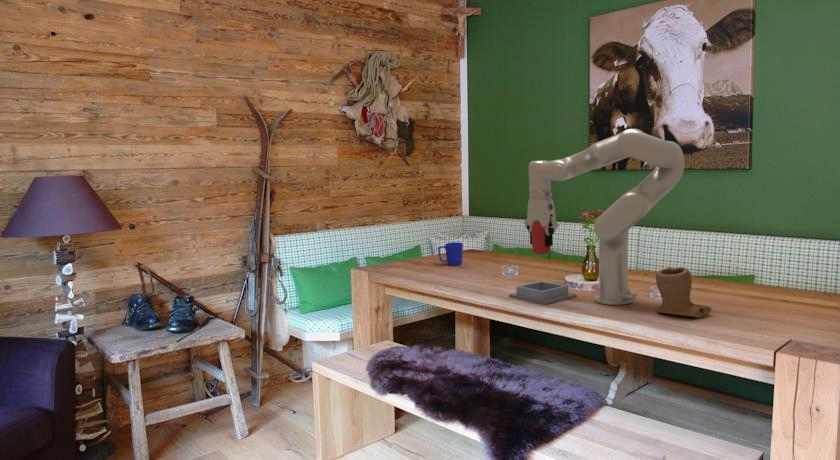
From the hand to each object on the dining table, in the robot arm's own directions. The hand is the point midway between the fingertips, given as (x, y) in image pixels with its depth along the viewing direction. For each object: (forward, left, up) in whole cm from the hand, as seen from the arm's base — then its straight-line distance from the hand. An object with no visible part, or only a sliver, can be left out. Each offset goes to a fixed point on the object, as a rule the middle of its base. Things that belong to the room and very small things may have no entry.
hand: (541, 244), depth 237 cm
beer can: (0, 0, -3) cm, 3 cm away
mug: (+76, -19, -19) cm, 81 cm away
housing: (0, 0, -19) cm, 19 cm away
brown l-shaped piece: (-48, -11, -19) cm, 53 cm away
